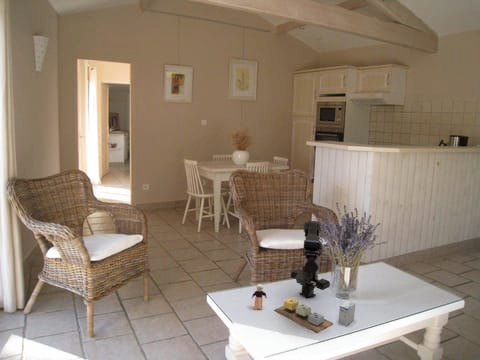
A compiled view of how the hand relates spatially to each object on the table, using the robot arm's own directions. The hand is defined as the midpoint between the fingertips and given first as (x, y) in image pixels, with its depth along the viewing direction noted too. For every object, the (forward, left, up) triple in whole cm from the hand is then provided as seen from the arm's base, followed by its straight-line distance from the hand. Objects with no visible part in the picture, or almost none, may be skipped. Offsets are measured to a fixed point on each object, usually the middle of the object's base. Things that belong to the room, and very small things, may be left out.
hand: (308, 296), depth 188 cm
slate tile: (0, +5, -11) cm, 12 cm away
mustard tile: (0, -10, -9) cm, 13 cm away
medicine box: (-13, +13, -12) cm, 22 cm away
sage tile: (0, -2, -9) cm, 9 cm away
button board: (0, -2, -12) cm, 12 cm away
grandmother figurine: (+10, -22, -12) cm, 27 cm away
